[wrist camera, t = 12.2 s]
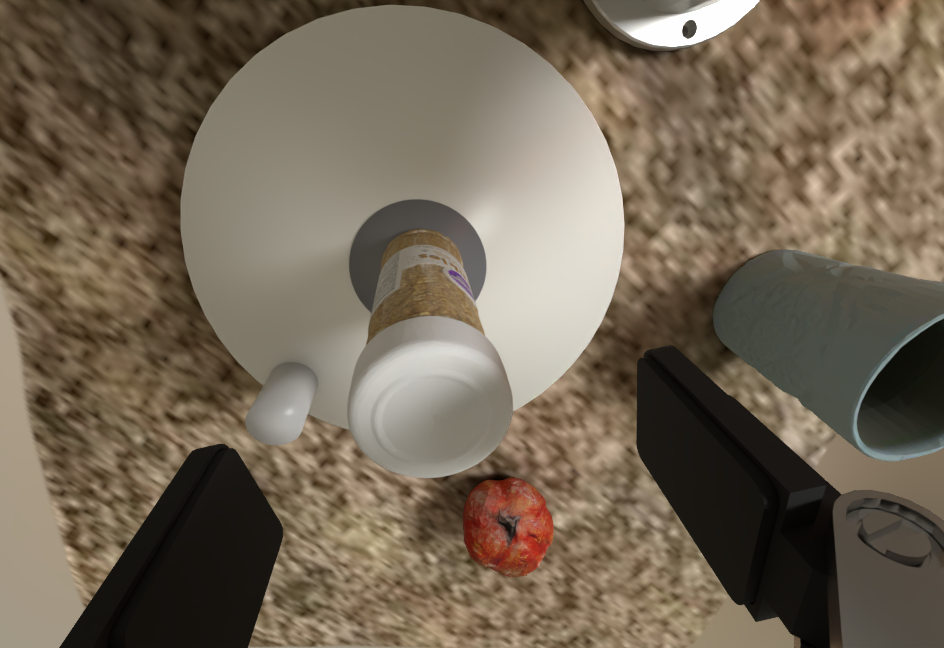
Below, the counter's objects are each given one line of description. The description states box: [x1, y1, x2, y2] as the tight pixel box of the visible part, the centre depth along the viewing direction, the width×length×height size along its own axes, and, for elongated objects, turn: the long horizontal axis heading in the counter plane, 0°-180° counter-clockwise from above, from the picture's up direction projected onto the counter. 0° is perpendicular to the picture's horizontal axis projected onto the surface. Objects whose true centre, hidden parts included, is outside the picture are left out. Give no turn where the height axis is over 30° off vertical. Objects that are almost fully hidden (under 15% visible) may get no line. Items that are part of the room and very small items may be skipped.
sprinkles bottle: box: [347, 229, 513, 478], centre depth 17 cm, size 5×5×14 cm
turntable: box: [181, 5, 624, 445], centre depth 23 cm, size 24×24×8 cm
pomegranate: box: [463, 477, 553, 577], centre depth 34 cm, size 7×7×10 cm
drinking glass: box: [713, 250, 944, 461], centre depth 27 cm, size 10×10×12 cm
